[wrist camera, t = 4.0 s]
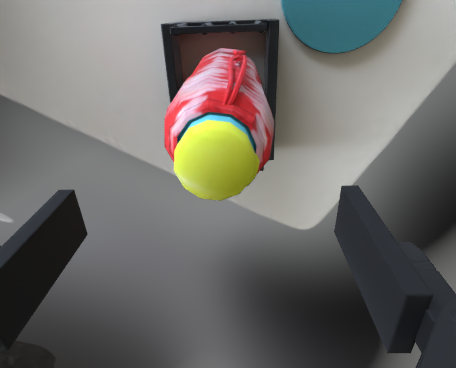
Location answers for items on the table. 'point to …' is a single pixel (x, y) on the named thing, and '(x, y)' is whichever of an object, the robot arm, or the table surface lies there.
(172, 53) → the rack
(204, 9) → the table surface
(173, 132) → the water bottle
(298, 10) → the mat
